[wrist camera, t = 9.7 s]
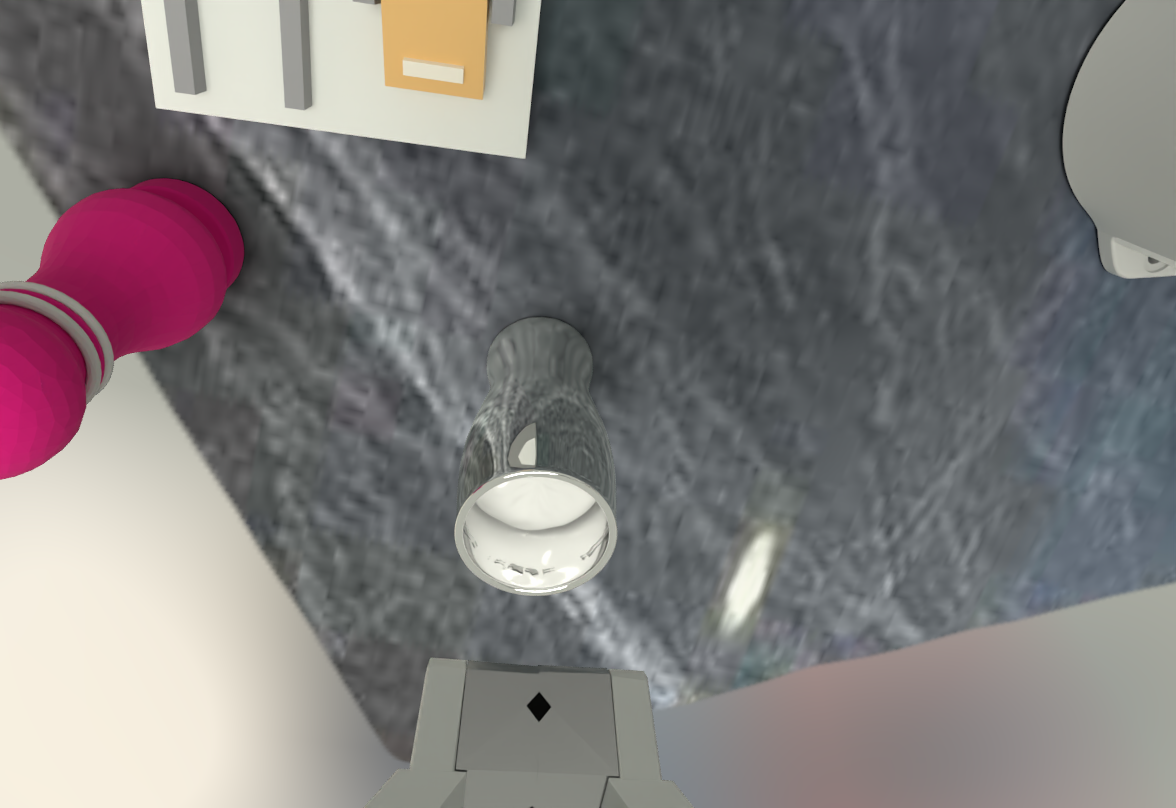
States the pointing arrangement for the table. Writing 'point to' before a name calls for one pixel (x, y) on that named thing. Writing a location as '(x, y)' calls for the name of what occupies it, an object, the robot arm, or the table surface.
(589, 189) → the table surface
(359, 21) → the console
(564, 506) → the beer glass
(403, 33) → the amber rocker
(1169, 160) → the robot arm
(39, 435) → the pepper mill
